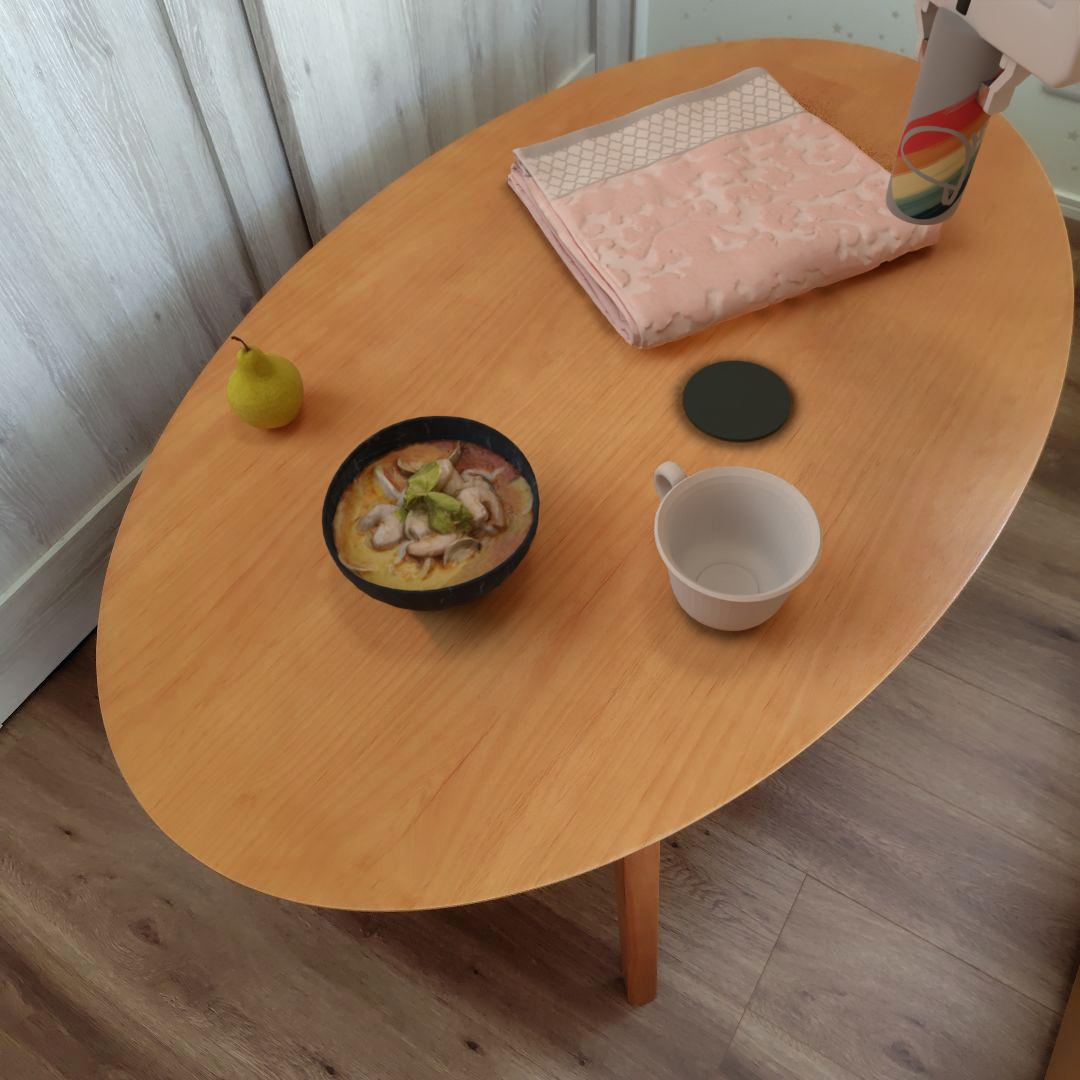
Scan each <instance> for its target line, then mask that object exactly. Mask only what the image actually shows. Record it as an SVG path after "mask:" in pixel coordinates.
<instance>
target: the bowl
mask: <svg viewBox="0 0 1080 1080" xmlns="http://www.w3.org/2000/svg"><path fill="white" fill-rule="evenodd" d="M540 506H541V501H540V492H539V485H538V482H537V478H536V474H535V472H534V470H533V467H532V465H531V463H530V461H529V459H528V457H526V455H525V454H524V452H523V451H522V450H521V449H520V448H519V447H518V446H517V444H516V443H515V442H514V441H512V440H511V439H510V438H509V437H507V436H506V435H505V434H503V433H502V432H501V431H499V430H497V429H496V428H494V427H492V426H490V425H487V424H486V423H484V422H480V421H477V420H475V419H471V418H466V417H461V416H451V415H428V416H418V417H413V418H409V419H405V420H401V421H399V422H396V423H393V424H391V425H389V426H386V427H384V428H382V429H380V430H378V431H377V432H375V433H374V434H372V435H370V436H369V437H368V438H366V439H365V440H364V441H362V442H360V444H358V445H357V446H356V448H355V449H353V450H352V451H351V452H350V453H349V454H348V455H347V457H345V459H344V461H342V463H341V464H340V465H339V467H338V469H337V470H336V472H335V473H334V475H333V477H332V479H331V481H330V483H329V486H328V488H327V490H326V494H325V496H324V501H323V505H322V511H321V528H322V536H323V539H324V543H325V545H326V548H327V550H328V553H329V555H330V557H331V558H332V561H333V562H334V563H335V565H336V567H337V568H338V569H339V571H340V572H341V574H342V575H343V576H344V578H346V579H347V580H348V581H349V582H350V583H352V585H353V586H355V587H356V588H357V589H358V590H359V591H361V593H364V594H366V596H368V597H370V598H372V599H373V600H376V601H378V602H381V603H384V604H386V605H388V606H391V607H394V608H397V609H403V610H408V611H414V612H442V611H447V610H451V609H455V608H460V607H464V606H467V605H469V604H471V603H473V602H476V601H478V600H481V599H484V597H486V596H487V595H489V594H490V593H492V592H493V591H494V590H496V589H498V588H499V587H500V586H501V585H502V584H504V582H505V581H506V580H508V579H509V578H510V577H511V575H512V574H513V573H514V572H515V571H516V570H517V569H518V568H519V566H520V564H521V563H522V562H523V560H524V559H525V557H526V556H527V554H528V552H529V550H530V548H531V546H532V543H533V542H534V540H535V537H536V534H537V530H538V527H539V520H540V519H539V518H540V508H541V507H540Z"/></svg>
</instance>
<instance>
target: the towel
mask: <svg viewBox="0 0 1080 1080" xmlns="http://www.w3.org/2000/svg"><path fill="white" fill-rule="evenodd" d="M511 152H512V155H513V156H514V158H515V161H514V162H513V163H512V164H511V166H510V171H511V172H510V173H509V174H507V184H508V185H509V186H510V188H511V189H512V190H513V191H514V192H515V194H516V195H517V197H518V198H519V199H520V200H521V202H522V203H523V205H525V207H526V208H527V210H528V211H529V213H530V214H531V216H532V217H533V219H534V220H535V223H536V224H537V225H538V226H539V228H540V229H541V231H542V233H543V234H544V236H545V237H546V239H547V240H548V242H549V243H550V244H551V246H552V247H553V248H554V250H555V252H556V253H557V254H558V256H559V257H560V259H561V260H562V262H563V263H564V264H565V265H566V267H567V268H568V270H569V272H570V273H571V274H572V275H573V277H574V278H575V279H576V281H577V282H578V283H579V285H580V286H581V287H582V289H583V290H584V291H585V293H587V295H588V296H589V297H590V299H591V301H592V302H593V303H594V304H595V306H596V307H597V308H598V309H599V311H600V312H601V313H602V315H603V316H604V317H605V318H606V319H607V321H608V322H609V323H610V324H611V326H613V328H614V329H615V331H616V332H617V334H618V335H619V336H620V337H622V339H623V340H624V341H625V342H626V343H627V344H629V346H632V347H634V348H636V349H639V350H642V349H645V350H647V351H648V350H650V349H652V348H657V347H660V346H664V345H666V344H667V343H672V342H676V341H680V340H682V339H685V338H687V337H689V336H694V335H697V334H699V333H702V332H704V331H706V330H708V329H711V328H714V327H716V326H718V325H719V324H722V323H725V322H728V321H731V320H733V319H735V318H740V317H743V316H745V315H748V314H751V313H754V312H757V311H759V310H762V309H765V308H767V307H768V306H771V305H774V306H775V305H777V304H780V303H782V302H783V301H784V300H786V299H787V300H788V299H792V298H795V297H799V296H801V295H805V294H806V293H808V292H810V291H811V290H812V289H815V288H823V287H828V286H830V285H833V284H835V283H839V282H840V281H844V280H846V279H849V278H852V277H855V276H858V275H862V274H864V273H867V272H869V271H871V270H874V269H875V268H878V267H880V265H881V264H882V263H885V262H886V261H887V262H891V261H893V260H895V259H897V258H898V257H901V256H903V255H905V254H906V253H908V252H909V253H910V252H916V251H918V250H921V249H923V248H925V247H931V246H933V245H936V243H937V242H938V241H939V238H940V236H941V231H942V230H941V229H942V226H943V225H944V223H945V221H944V222H942V223H939V224H934V225H917V224H912V223H908V222H905V221H903V220H901V219H899V218H897V217H896V216H894V215H893V214H892V213H891V212H890V211H889V209H888V207H887V205H886V193H887V189H888V184H889V181H890V177H891V173H892V172H890V171H888V170H887V169H885V168H884V167H883V166H882V165H881V164H880V163H879V162H877V161H876V160H874V159H873V158H872V157H870V156H869V154H867V153H865V152H864V151H862V149H860V148H859V147H858V146H857V144H855V143H854V142H852V141H851V140H850V139H848V138H847V137H846V136H845V135H844V134H843V133H842V132H840V131H839V130H838V129H836V128H835V127H833V126H831V125H830V124H828V123H827V122H826V121H824V120H822V118H819V117H818V116H817V115H815V114H813V113H810V112H808V111H807V109H805V108H804V107H803V106H802V105H801V104H800V103H799V102H798V101H797V100H796V99H795V98H794V97H793V96H792V95H790V93H789V92H788V91H787V90H786V89H785V88H784V87H783V86H782V85H781V84H780V83H779V82H778V81H777V80H776V79H775V78H774V77H773V75H772V74H771V73H770V72H769V70H767V69H766V68H764V67H761V66H754V67H749V68H746V69H743V70H740V71H739V72H737V73H735V74H734V75H732V76H730V77H728V78H725V79H722V80H720V81H718V82H715V83H712V84H710V85H709V84H708V85H707V86H704V87H700V88H697V89H693V90H690V91H686V92H683V93H679V94H675V95H673V96H669V97H666V98H664V99H661V100H658V101H656V102H654V103H651V104H648V105H645V106H642V107H641V108H638V109H635V110H633V111H631V112H629V113H627V114H626V113H625V114H623V115H621V116H618V117H615V118H612V119H609V120H606V121H603V122H600V123H596V124H594V125H593V124H592V125H590V126H586V127H583V128H580V129H577V130H575V131H572V132H569V133H566V134H563V135H560V136H556V137H554V138H551V139H548V140H546V141H542V142H538V143H534V144H530V145H527V146H522V147H516V148H515V149H513V150H512V151H511Z"/></svg>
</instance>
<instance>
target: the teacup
mask: <svg viewBox="0 0 1080 1080" xmlns="http://www.w3.org/2000/svg"><path fill="white" fill-rule="evenodd" d="M653 484H654V488H655V491H656V494H657V496H658V499H659V500H660V503H659V505H658V507H657V510H656V512H655V517H654V522H653V523H654V525H653V532H654V541H655V544H656V548H657V550H658V553H659V555H660V558H661V559H662V561H663V562H664V564H665V565H666V568H667V572H668V578H669V582H670V586H671V589H672V590H671V591H672V592H673V595H674V597H675V599H676V601H677V602H678V604H679V605H680V607H681V608H682V609H683V611H684V612H685V613H687V614H688V615H689V616H690V617H691V618H693V619H694V620H695V621H697V622H698V623H700V624H702V625H704V626H706V627H708V628H712V629H715V630H720V631H726V632H728V631H729V632H736V631H737V632H738V631H739V632H740V631H744V630H749V629H751V628H754V627H758V626H760V625H761V624H763V623H765V622H767V621H768V620H769V619H770V618H772V617H773V616H774V615H775V614H776V613H778V611H779V610H780V609H781V607H782V606H783V605H784V604H785V602H786V600H787V599H788V597H789V596H790V594H791V592H792V591H793V589H795V588H796V587H798V586H799V585H801V583H803V582H804V581H805V580H807V578H808V577H809V576H810V575H811V574H812V572H813V571H814V569H815V567H816V566H817V564H818V563H819V561H820V558H821V555H822V551H823V542H824V536H823V535H824V534H823V528H822V523H821V520H820V518H819V515H818V513H817V511H816V509H815V508H814V506H813V504H812V502H810V500H809V499H808V498H807V496H805V494H804V493H803V492H802V491H801V490H800V489H799V488H797V487H796V486H795V485H793V484H792V483H791V482H789V481H787V480H785V479H784V478H782V477H780V476H778V475H777V474H773V473H771V472H768V471H765V470H762V469H758V468H754V467H748V466H742V465H741V466H740V465H724V466H722V465H721V466H715V467H711V468H707V469H703V470H700V471H698V472H695V473H693V474H690V475H687V473H686V471H685V470H684V469H683V467H682V466H680V464H678V463H677V462H674V461H671V460H667V461H665V462H663V463H661V464H659V465H658V466H657V468H656V469H655V471H654V473H653Z"/></svg>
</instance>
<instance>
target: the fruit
mask: <svg viewBox="0 0 1080 1080" xmlns="http://www.w3.org/2000/svg"><path fill="white" fill-rule="evenodd" d="M230 339H231V340H235V341H237V342H241V344H242V345H243V347H240V348H239V349H238V352H237V354H236V367H235V369H234V370H233V372H232V373H231V375H230V376H229V378H228V381H227V386H226V398H227V402H228V405H229V407H230V409H231V411H232V412H233V413H234V415H235V416H236V417H237V418H238V419H239V420H240V421H242V422H243V423H245V424H246V425H248V426H250V427H252V428H256V429H259V430H264V429H265V430H266V429H276V428H277V429H278V428H282V427H285V426H287V425H289V424H290V423H291V422H292V421H293V420H294V419H295V418H296V417H297V416H298V414H299V412H300V410H301V407H302V404H303V401H304V400H303V399H304V382H303V378H302V374H301V372H300V370H299V369H298V368H297V366H296V365H295V364H294V363H293V362H291V360H289V359H288V358H286V357H284V356H281V355H280V354H279V355H278V354H275V353H268V352H267V353H264V352H263V350H261V348H259V347H257V346H255V345H247V343H246V342H245V341H244V340H243V339H241V338H240V337H238V336H235V335H232V336H230Z"/></svg>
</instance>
